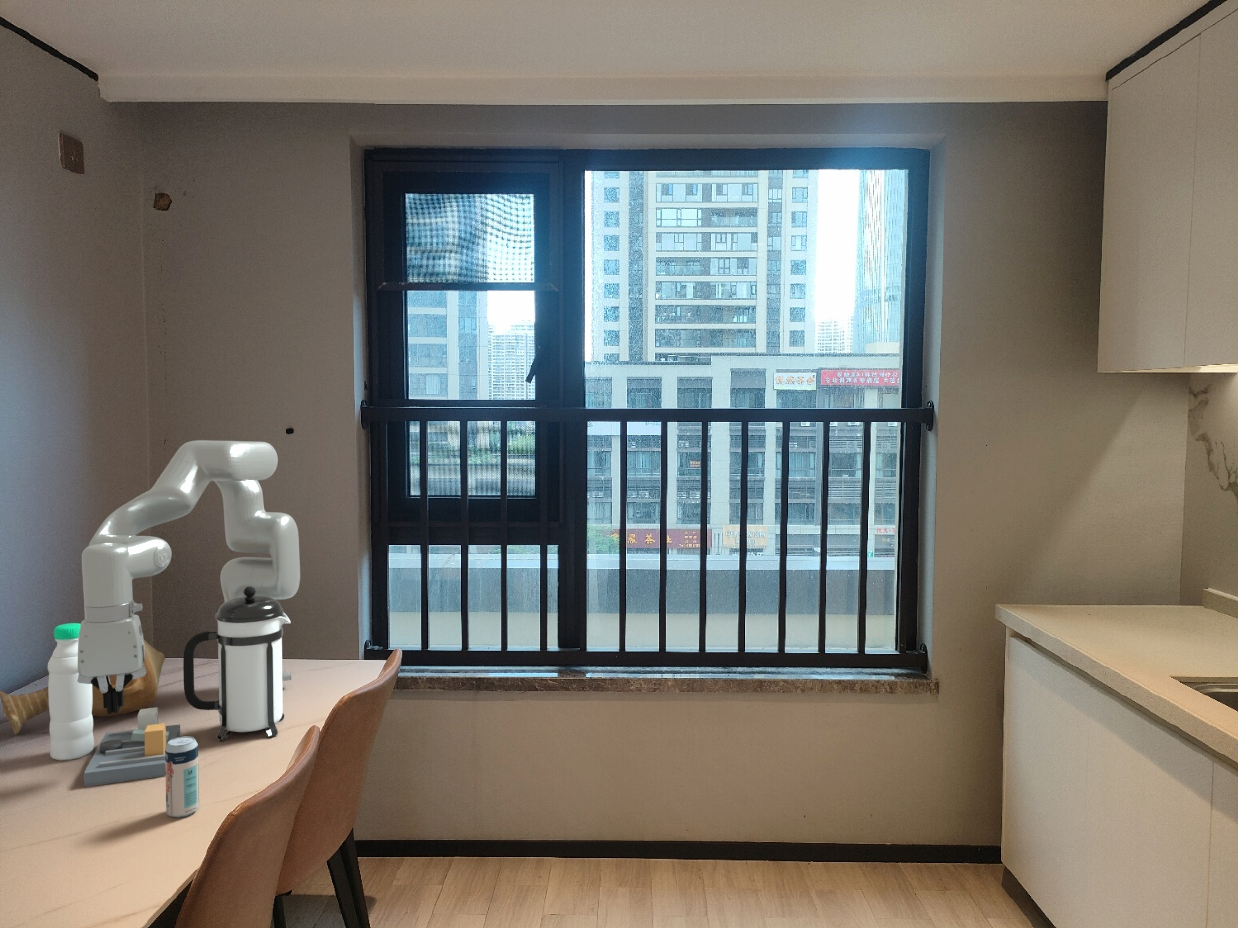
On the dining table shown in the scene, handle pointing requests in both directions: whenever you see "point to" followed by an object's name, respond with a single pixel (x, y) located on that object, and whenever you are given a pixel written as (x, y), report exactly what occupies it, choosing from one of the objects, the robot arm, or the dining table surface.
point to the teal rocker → (142, 735)
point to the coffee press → (244, 665)
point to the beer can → (182, 776)
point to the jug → (135, 694)
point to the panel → (125, 759)
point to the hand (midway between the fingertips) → (114, 710)
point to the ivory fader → (147, 717)
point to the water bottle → (68, 699)
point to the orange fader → (155, 739)
